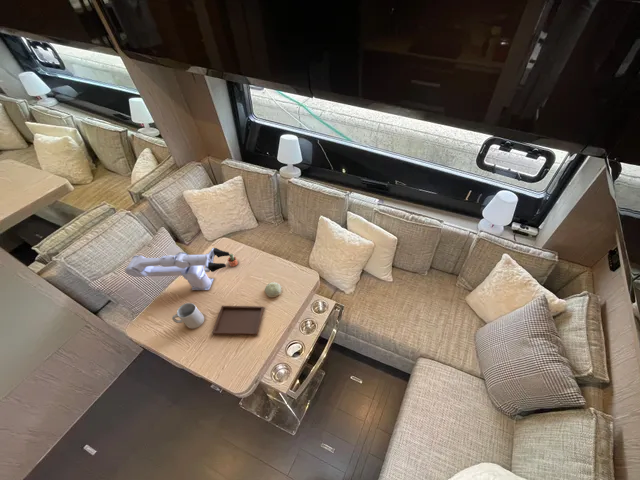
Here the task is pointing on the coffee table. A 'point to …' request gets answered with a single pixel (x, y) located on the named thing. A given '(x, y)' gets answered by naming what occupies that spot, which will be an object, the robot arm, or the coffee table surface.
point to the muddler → (231, 257)
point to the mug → (189, 315)
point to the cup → (232, 262)
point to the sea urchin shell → (273, 289)
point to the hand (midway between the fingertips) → (227, 259)
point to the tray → (238, 320)
